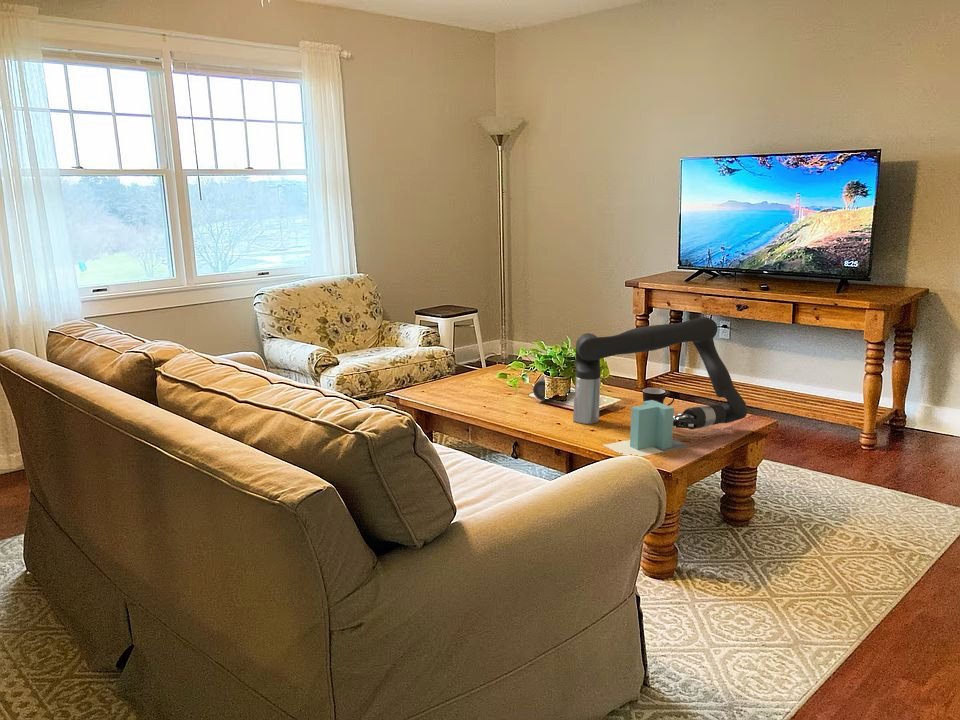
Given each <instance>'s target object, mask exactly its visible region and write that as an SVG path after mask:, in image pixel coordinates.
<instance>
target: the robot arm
mask: <svg viewBox="0 0 960 720" xmlns="http://www.w3.org/2000/svg"><path fill="white" fill-rule="evenodd" d="M717 332H718V324H717V323H716V322H715V320H714V319H712V318H710V317H706V316H705V317H704V316H703V317H702V316H701V317H696V318H693V319H689V320H686V321H682V322H678V323H677V322H676V323H665V324H655V325H654V324H653V325H646V326H640V327H635V328H630V329H629V330H626V331H623V332H621V333H619V334H616V335H615V334H614V335H609V336H600V337H599V336H597V335H595V334H593V333H589V332H588V333H587V332H586V333H583V334H581V335H580V336H579V337H578V339H577V340H576V342H575V362H574V363H575V365H574V366H575V391H574V393H575V394H574V398H573V414H572V415H573V418H572V419H573V422H575V423H578V424H587V425H590V424H591V425H593V424H597V423H598V422H599V420H600V418H599V417H600V400H601V399H600V398H601V397H600V395H601V371H602V370H601V359H604V358H608V357H612V356H618V355H619V356H620V355H628V354H637V353H644V352H645V353H646V352H652V351H658V350H661V349H664V348H669V347H671V346H674V345H677V344H681V343H687V342H688V343H690V342H692V344H693V345H694V347H695V349H696V351H697V353H698V354H699V356H700V358H701V360H702V362H703V364H704V366H705V370H706V371H707V375H708V377H709V380H710V382H711V385H712V388H713V390H714V393H715V395H716V397H718V398H724V399H725V401H727V402H726V403H723V404H710V405H701V406H694V407H688V408H686V409H685V410H684V411H683V412H681V413H680V412H679V413H677V414H674V417H673V428H674V427H675V428H676V429H688V430H696V429H702V428H706V427H710V426H713V425H718V424H728V423H733V422H735V421H739V420H742V419H745V418H746V417H747V415H748V405H747V404H746V401H745V400H744V398H743V397H742V395H741V394H740V393H739V391H738V390H737V389H736V387H735V386H734V382H733V380H732V378H731V374H730V372H729V370H728V369H727V367H726V365H725V363H724V362H723V361H722V358H721V357H720V355H719V353H718V351H717V348H716V346H715V342H714V338H715V337H716V335H717Z"/></svg>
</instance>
